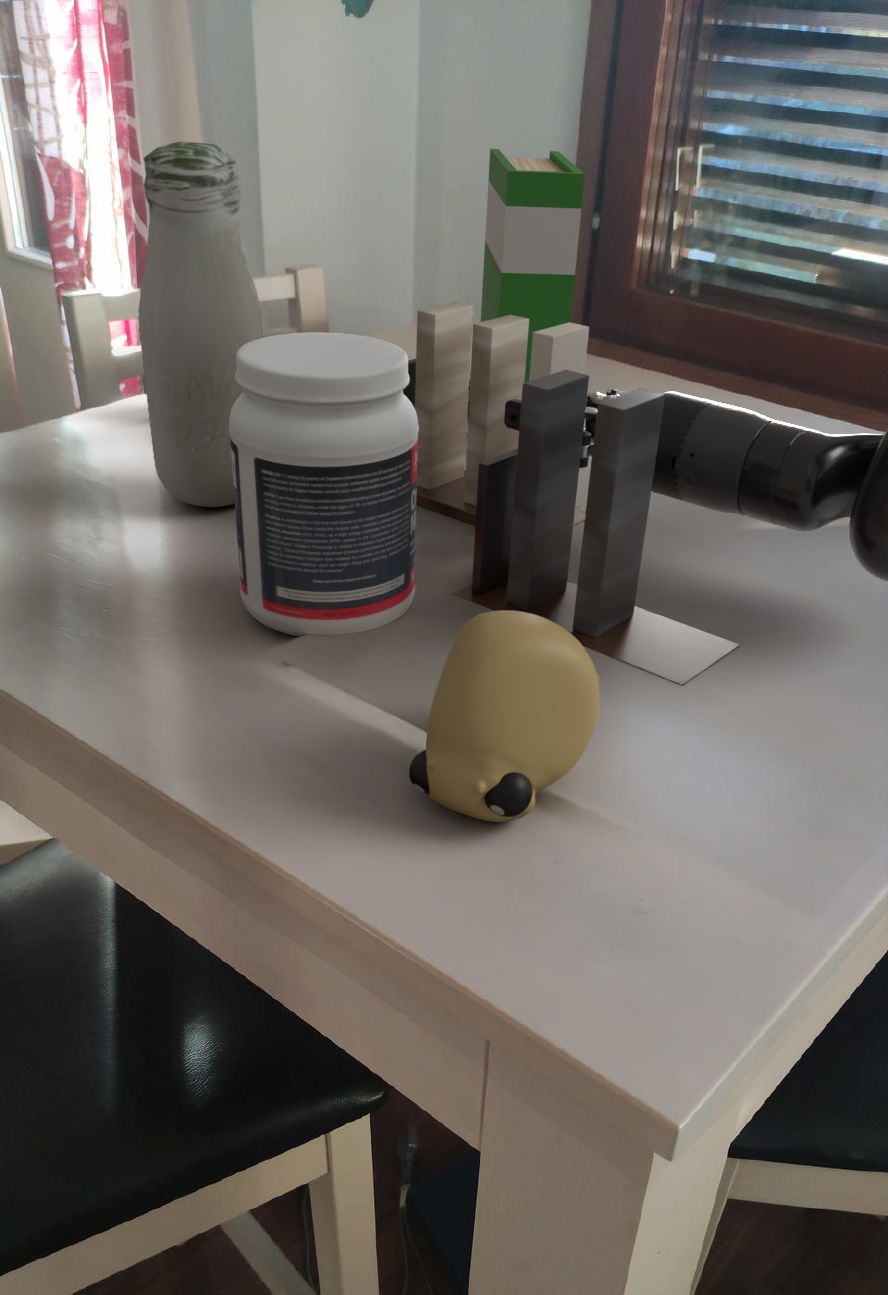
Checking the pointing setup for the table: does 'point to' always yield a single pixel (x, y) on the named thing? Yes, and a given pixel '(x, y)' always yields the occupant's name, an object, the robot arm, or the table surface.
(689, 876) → the table surface
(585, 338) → the beige rectangular block
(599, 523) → the grey book stand
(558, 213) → the hardback book
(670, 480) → the robot arm
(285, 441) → the supplement tub
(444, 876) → the table surface
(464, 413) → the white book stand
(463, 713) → the yellow toy with eyes
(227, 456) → the glass bottle
